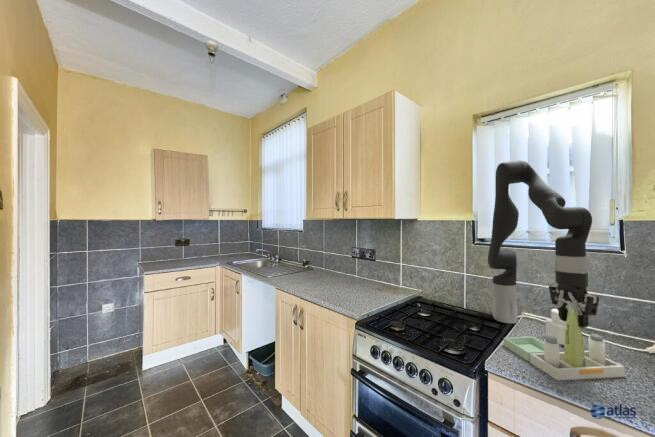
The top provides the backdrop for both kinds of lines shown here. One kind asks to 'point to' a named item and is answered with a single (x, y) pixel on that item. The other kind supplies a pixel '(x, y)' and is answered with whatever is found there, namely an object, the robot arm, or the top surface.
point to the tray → (524, 346)
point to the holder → (578, 368)
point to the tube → (573, 341)
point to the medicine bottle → (556, 327)
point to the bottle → (551, 351)
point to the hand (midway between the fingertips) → (573, 323)
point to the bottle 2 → (597, 349)
